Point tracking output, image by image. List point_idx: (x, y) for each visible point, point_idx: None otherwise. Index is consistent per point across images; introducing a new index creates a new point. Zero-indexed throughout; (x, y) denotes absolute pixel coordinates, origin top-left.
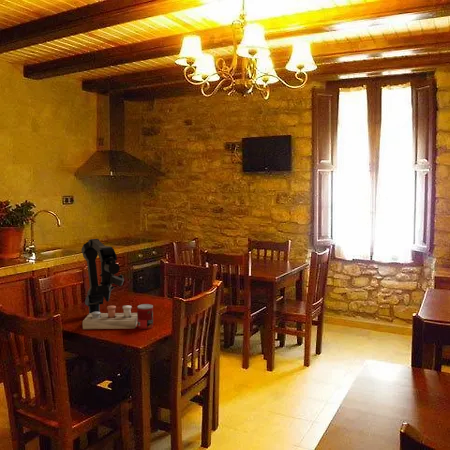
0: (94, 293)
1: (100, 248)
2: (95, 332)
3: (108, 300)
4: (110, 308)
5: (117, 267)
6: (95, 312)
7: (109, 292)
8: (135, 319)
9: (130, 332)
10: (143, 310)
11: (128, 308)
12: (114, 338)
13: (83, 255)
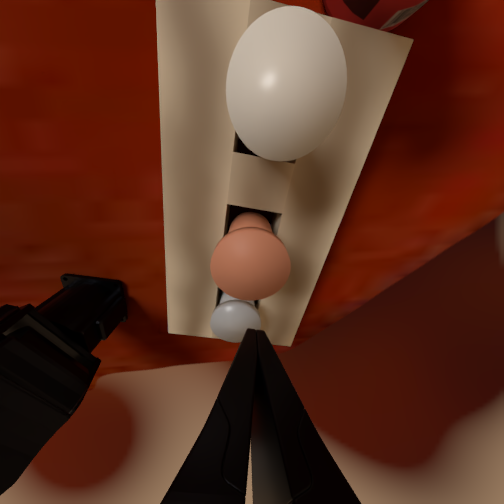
0: (10, 438)
1: None
2: (344, 279)
3: (268, 339)
4: (288, 272)
5: None
6: (230, 327)
7: (340, 500)
8: (375, 29)
9: (435, 107)
10: None
11: (340, 74)
12: (475, 201)
13: None
